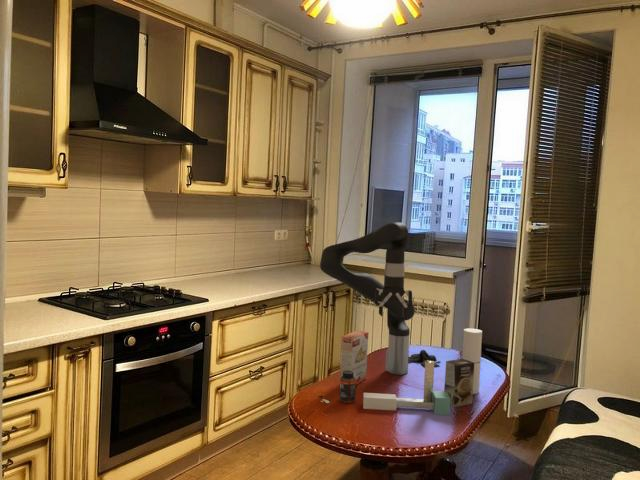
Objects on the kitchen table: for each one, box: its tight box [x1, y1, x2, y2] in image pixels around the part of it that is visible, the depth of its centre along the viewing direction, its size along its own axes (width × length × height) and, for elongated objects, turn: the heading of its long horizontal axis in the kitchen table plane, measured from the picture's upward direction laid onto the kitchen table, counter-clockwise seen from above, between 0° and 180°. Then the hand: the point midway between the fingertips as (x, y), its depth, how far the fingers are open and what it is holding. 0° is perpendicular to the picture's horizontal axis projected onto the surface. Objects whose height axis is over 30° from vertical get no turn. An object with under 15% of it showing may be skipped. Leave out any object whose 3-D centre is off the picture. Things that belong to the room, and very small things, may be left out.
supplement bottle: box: [339, 370, 357, 404], centre depth 195 cm, size 6×6×11 cm
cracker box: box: [338, 329, 369, 386], centre depth 215 cm, size 14×6×21 cm, turn 148°
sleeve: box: [362, 392, 398, 411], centre depth 191 cm, size 12×5×4 cm, turn 86°
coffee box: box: [443, 358, 474, 408], centre depth 197 cm, size 9×6×16 cm
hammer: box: [396, 360, 435, 410], centre depth 189 cm, size 20×3×17 cm, turn 86°
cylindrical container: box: [461, 327, 483, 395], centre depth 210 cm, size 7×7×25 cm
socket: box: [432, 390, 451, 416], centre depth 189 cm, size 5×7×6 cm
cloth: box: [408, 349, 442, 369], centre depth 250 cm, size 22×19×6 cm
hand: (392, 316), depth 198 cm, fingers open, 8 cm apart
